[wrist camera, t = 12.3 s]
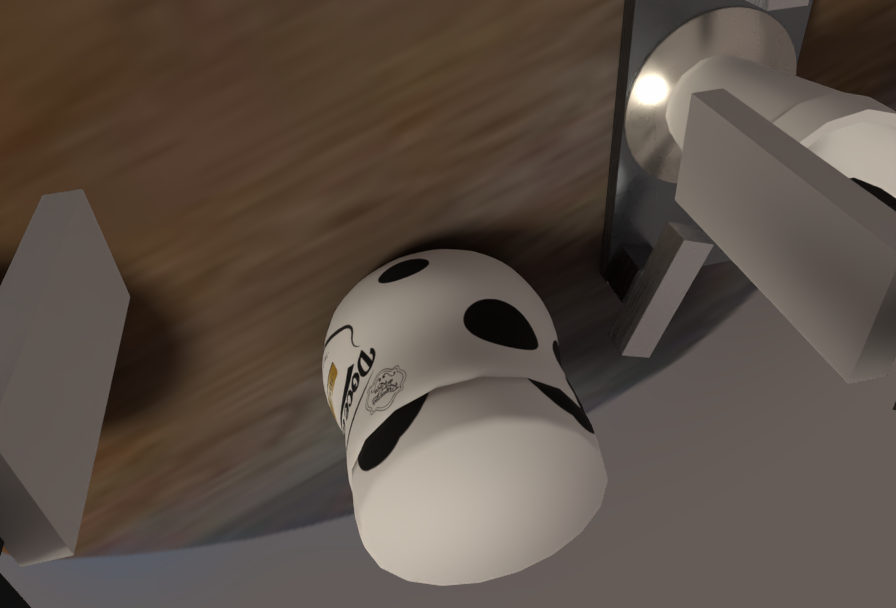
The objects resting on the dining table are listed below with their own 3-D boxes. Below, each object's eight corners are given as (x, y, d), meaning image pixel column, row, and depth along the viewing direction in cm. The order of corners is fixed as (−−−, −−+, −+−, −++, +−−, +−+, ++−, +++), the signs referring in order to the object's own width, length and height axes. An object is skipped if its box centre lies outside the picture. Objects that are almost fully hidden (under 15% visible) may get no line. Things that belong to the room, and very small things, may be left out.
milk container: (269, 315, 52) (275, 519, 38) (467, 185, 49) (553, 356, 35) (399, 431, 62) (441, 625, 49) (568, 331, 59) (664, 506, 46)
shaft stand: (624, -217, 36) (693, -212, 31) (853, -237, 38) (958, -235, 32) (584, 303, 58) (620, 363, 52) (731, 275, 60) (782, 330, 54)
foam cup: (747, -4, 43) (898, 69, 33) (796, 103, 48) (938, 194, 38) (619, 100, 45) (722, 198, 35) (679, 191, 51) (784, 298, 41)
